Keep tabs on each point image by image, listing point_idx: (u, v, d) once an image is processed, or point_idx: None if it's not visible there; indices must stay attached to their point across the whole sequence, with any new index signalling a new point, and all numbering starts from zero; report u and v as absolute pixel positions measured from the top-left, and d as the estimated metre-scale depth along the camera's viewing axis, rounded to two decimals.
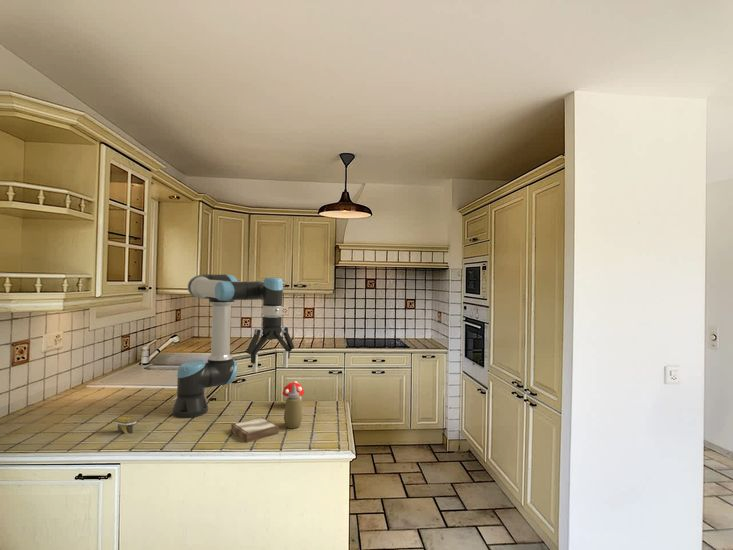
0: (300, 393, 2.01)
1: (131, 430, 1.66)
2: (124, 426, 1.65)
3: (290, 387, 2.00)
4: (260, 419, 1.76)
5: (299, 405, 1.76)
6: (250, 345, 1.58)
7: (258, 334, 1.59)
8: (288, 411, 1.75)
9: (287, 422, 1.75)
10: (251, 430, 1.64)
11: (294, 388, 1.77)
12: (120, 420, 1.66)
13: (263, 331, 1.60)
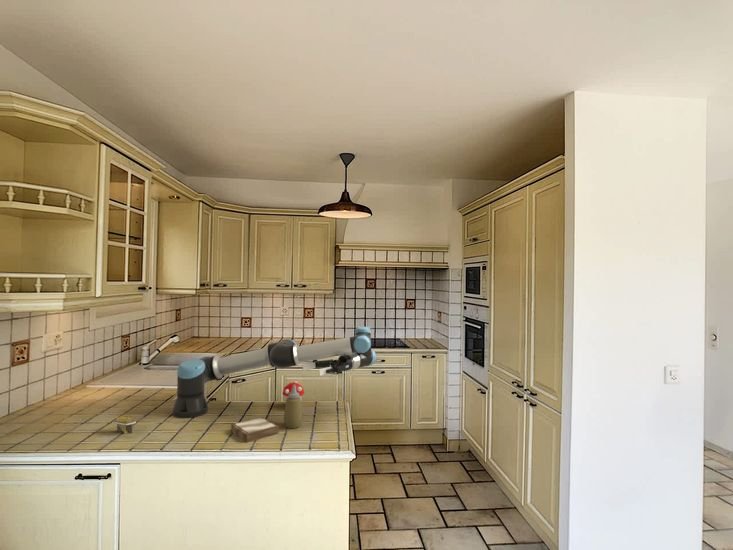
0: (300, 393, 2.01)
1: (130, 430, 1.66)
2: (123, 426, 1.65)
3: (290, 387, 2.00)
4: (260, 419, 1.76)
5: (299, 405, 1.76)
6: (341, 368, 1.83)
7: (345, 369, 1.87)
8: (288, 411, 1.75)
9: (287, 422, 1.75)
10: (251, 430, 1.64)
11: (294, 388, 1.77)
12: (119, 420, 1.66)
13: None
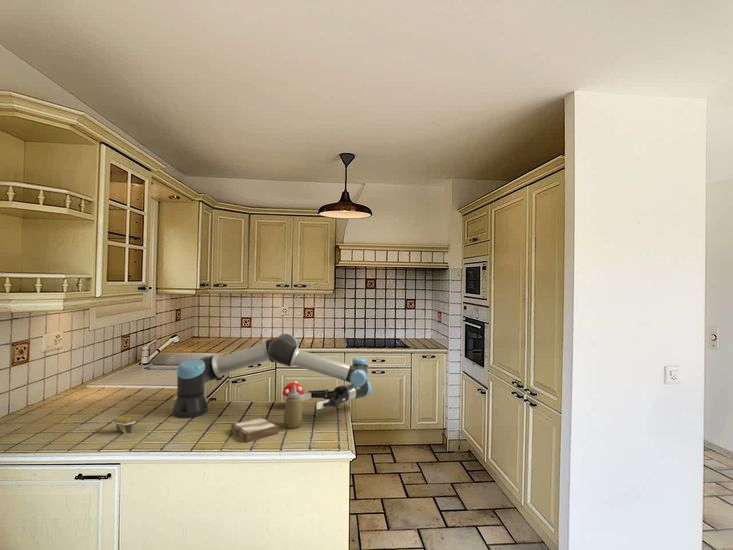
0: (300, 393, 2.01)
1: (130, 430, 1.66)
2: (123, 426, 1.65)
3: (290, 387, 2.00)
4: (260, 419, 1.76)
5: (299, 405, 1.76)
6: (338, 402, 1.82)
7: None
8: (288, 411, 1.75)
9: (287, 422, 1.75)
10: (251, 430, 1.64)
11: (294, 388, 1.77)
12: (119, 420, 1.66)
13: None
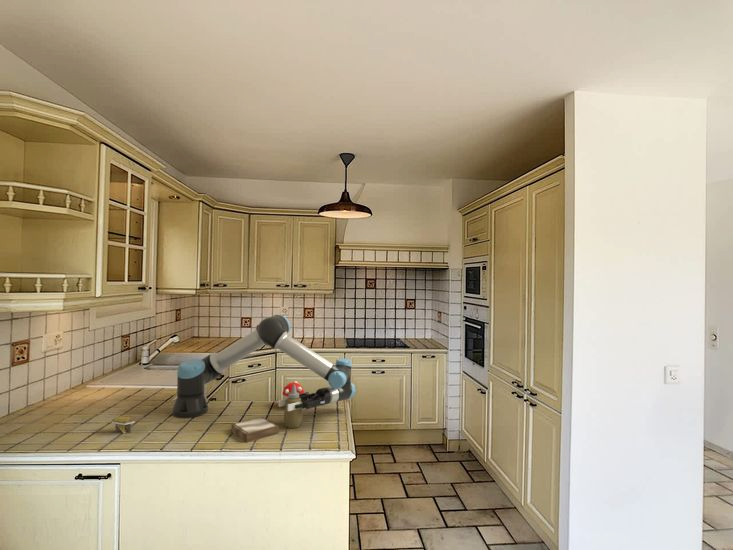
0: (300, 393, 2.01)
1: (129, 430, 1.66)
2: (122, 426, 1.65)
3: (290, 387, 2.00)
4: (260, 419, 1.76)
5: None
6: (312, 404, 1.77)
7: None
8: (288, 411, 1.75)
9: (287, 422, 1.75)
10: (251, 430, 1.64)
11: (294, 388, 1.77)
12: (118, 420, 1.66)
13: None
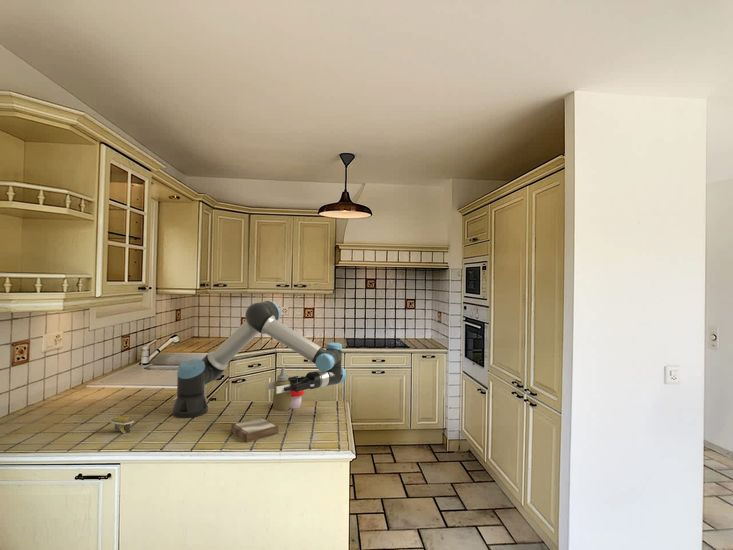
0: (300, 393, 2.01)
1: (128, 429, 1.67)
2: (121, 426, 1.66)
3: None
4: (260, 419, 1.76)
5: None
6: (301, 387, 1.73)
7: None
8: (277, 394, 1.71)
9: (276, 405, 1.71)
10: (251, 430, 1.64)
11: (283, 370, 1.74)
12: (117, 420, 1.66)
13: None
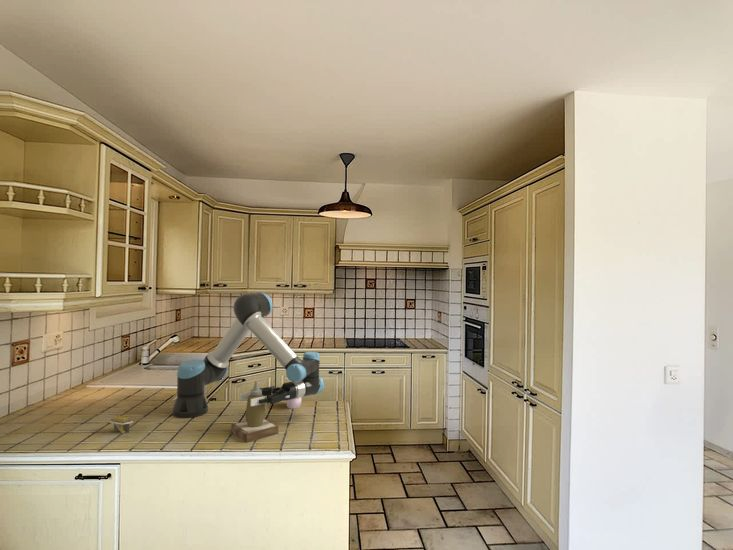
0: None
1: (128, 429, 1.67)
2: (121, 425, 1.66)
3: None
4: None
5: None
6: (277, 399, 1.68)
7: None
8: (249, 409, 1.66)
9: (248, 420, 1.67)
10: (251, 430, 1.64)
11: (256, 385, 1.69)
12: (116, 419, 1.66)
13: None
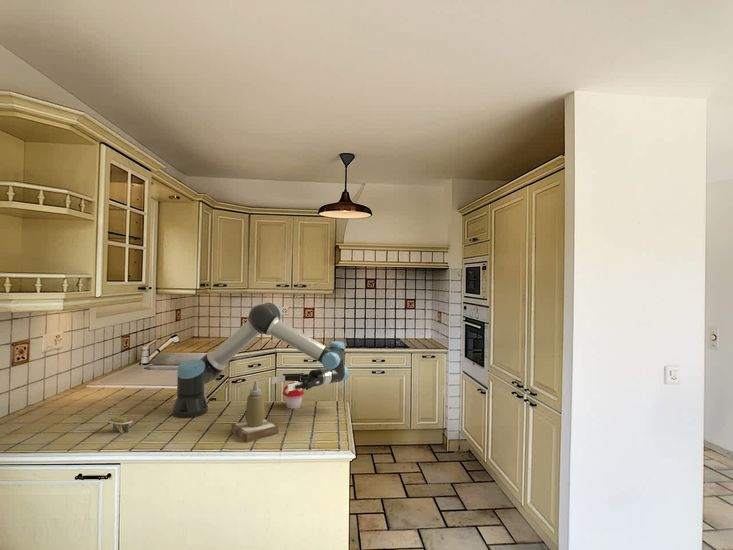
0: (300, 393, 2.01)
1: (127, 429, 1.67)
2: (120, 425, 1.66)
3: None
4: None
5: (261, 402, 1.68)
6: (311, 385, 1.78)
7: None
8: (249, 409, 1.67)
9: (248, 420, 1.67)
10: (251, 430, 1.64)
11: (256, 385, 1.69)
12: (116, 419, 1.66)
13: None
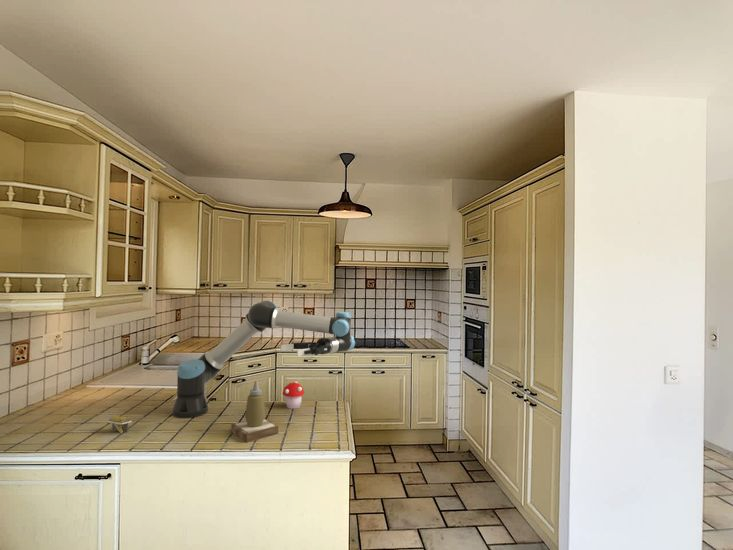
0: (300, 393, 2.01)
1: (126, 429, 1.67)
2: (119, 425, 1.66)
3: (290, 387, 2.00)
4: None
5: (261, 402, 1.68)
6: (319, 350, 1.83)
7: (323, 351, 1.88)
8: (249, 409, 1.67)
9: (248, 420, 1.67)
10: (251, 430, 1.64)
11: (256, 385, 1.69)
12: (115, 419, 1.67)
13: None
